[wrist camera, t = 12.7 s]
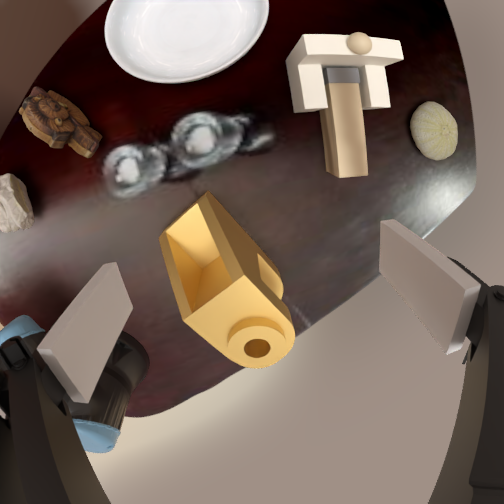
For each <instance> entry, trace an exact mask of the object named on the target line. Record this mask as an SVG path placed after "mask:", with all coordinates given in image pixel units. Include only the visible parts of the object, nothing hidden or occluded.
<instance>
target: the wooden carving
mask: <svg viewBox="0 0 504 504" xmlns="http://www.w3.org/2000/svg"><path fill="white" fill-rule="evenodd" d="M19 113H20V114H21V115H22V117H23V120H24V122H25V124H26V126H27V127H28V129H29V130H30V131H31V132H32V133H33V134H34V135H35V136H37V137H38V138H40V139H41V140H43V141H45V142H47V143H48V144H49V146H50V147H52V148H63V146H64V144H66V143H68V144H69V145H70V146H71V147H72V148H73V149H74V150H75V151H76V152H77V153H79V154H81V155H83V156H85V157H87V158H90V157H92V156H93V154H94V153H95V151H96V150H97V148H98V147H99V141H100V140H101V139H102V135H101V134H99V133H98V132H97V131H95V130H93V129H92V128H90V127H89V121H88V119H87V118H86V116H85V115H84V114H83V113H82V111H81V110H79V108H77V107H76V106H75V105H74V104H72V103H71V102H70V101H69V100H67V99H66V98H64V97H62V96H61V95H59V94H57V93H55V92H53V91H51V90H50V91H48V93H46V92H45V91H44V90H43V89H41V88H39V87H34V88H33V90H32V92H31V94H30V96H29V97H27V98H26V99H25V100H24V103H23V105H22V107H21V108H20V110H19Z"/></svg>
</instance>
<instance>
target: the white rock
mask: <svg viewBox="0 0 504 504" xmlns="http://www.w3.org/2000/svg"><path fill="white" fill-rule="evenodd" d="M34 222H35V220H34V214H33V210H32V206H31V202H30V200H29V198H28V195H27V189H26V186H25V185H24V183H23V182H22V181H21V180H20V179H18V178H16V177H15V175H13V174H5V175H3V176H2V175H1V176H0V230H1V231H3V232H6V233H8V232H11V231H12V232H16V231H17V230H19V229H20V228H21V229H23V230H24V229H29V228H31V227H32V225H33V223H34Z"/></svg>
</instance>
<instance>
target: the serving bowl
mask: <svg viewBox="0 0 504 504" xmlns="http://www.w3.org/2000/svg"><path fill="white" fill-rule="evenodd" d="M268 12H269V1H268V0H114V1H113V3H112V4H111V7H110V9H109V11H108V14H107V18H106V23H105V39H106V44H107V47H108V50H109V52H110V54H111V56H112V57H113V59H114V60H115V61H116V63H117V64H118V65H119V66H120V67H121V68H122V69H124V70H125V71H126V72H128V73H129V74H131V75H133V76H135V77H137V78H140V79H143V80H146V81H151V82H157V83H185V82H191V81H195V80H199V79H203V78H206V77H209V76H211V75H214V74H216V73H218V72H220V71H222V70H224V69H226V68H228V67H229V66H231V65H232V64H234V63H235V62H237V61H238V60H239V59H240V58H241V57H243V56H244V55H245V54H246V53H247V52H248V51H249V50H250V49H251V47H252V46H253V45H254V44H255V42H256V41H257V40H258V38H259V36H260V35H261V33H262V31H263V29H264V27H265V25H266V21H267V18H268Z"/></svg>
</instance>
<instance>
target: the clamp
mask: <svg viewBox="0 0 504 504" xmlns="http://www.w3.org/2000/svg"><path fill="white" fill-rule="evenodd" d="M159 242H160V246H161V250H162V253H163V257H164V261H165V264H166V268H167V271H168V275H169V278H170V281H171V285H172V288H173V291H174V294H175V298H176V301H177V304H178V307H179V310H180V313H181V316H182V320H183V321H184V322H185V323H186V324H187V325H189V326H190V327H191V328H192V329H193V330H194V331H196V332H197V333H198V334H199V335H200V336H202V337H203V338H204V339H205V340H206V341H208V342H209V343H210V344H211V345H212V346H214V347H215V348H216V349H217V350H219V351H220V352H221V353H222V354H224V355H225V356H226V357H227V358H229V359H230V360H232V361H234V362H236V363H237V364H239V365H241V366H244V367H247V368H264V367H268V366H270V365H273V364H275V363H276V362H278V361H279V360H280V359H281V358H283V357H284V356H285V355H286V354H287V353H288V352H289V351H290V350H291V348H292V346H293V344H294V341H295V332H294V327H293V323H292V320H291V316H290V312H289V310H288V308H287V306H286V305H285V304H284V303H283V302H282V301H281V298H282V295H283V285H282V281H281V277H280V273H279V271H278V269H277V267H276V266H275V265H274V263H273V262H272V261H271V260H270V259H269V258H268V257H267V256H266V254H265V253H264V252H263V251H262V250H261V249H260V248H259V247H258V245H257V244H256V243H255V242H254V241H253V240H252V239H251V238H250V236H249V235H248V234H247V233H246V232H245V231H244V230H243V229H242V227H241V226H240V225H239V224H238V223H237V222H236V221H235V220H234V219H233V217H232V216H231V215H230V214H229V213H228V212H227V211H226V210H225V208H224V207H223V206H222V205H221V204H220V203H219V202H218V201H217V200H216V198H215V197H214V196H213V195H212V194H211V193H210V192H209V191H207V192H206V193H205V194H204V195H203V196H201V197H200V198H199V199H198V200H197V201H196V202H195V203H194V204H192V205H191V206H190V207H189V208H188V209H187V210H186V211H185V212H183V213H182V214H181V215H180V216H179V217H178V218H177V219H176V220H175V221H174V222H173V223H171V224H170V225H169V226H168V227H167V228H166V229H165V230H164V231H163V232H162V234H161V235H160V237H159Z"/></svg>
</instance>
